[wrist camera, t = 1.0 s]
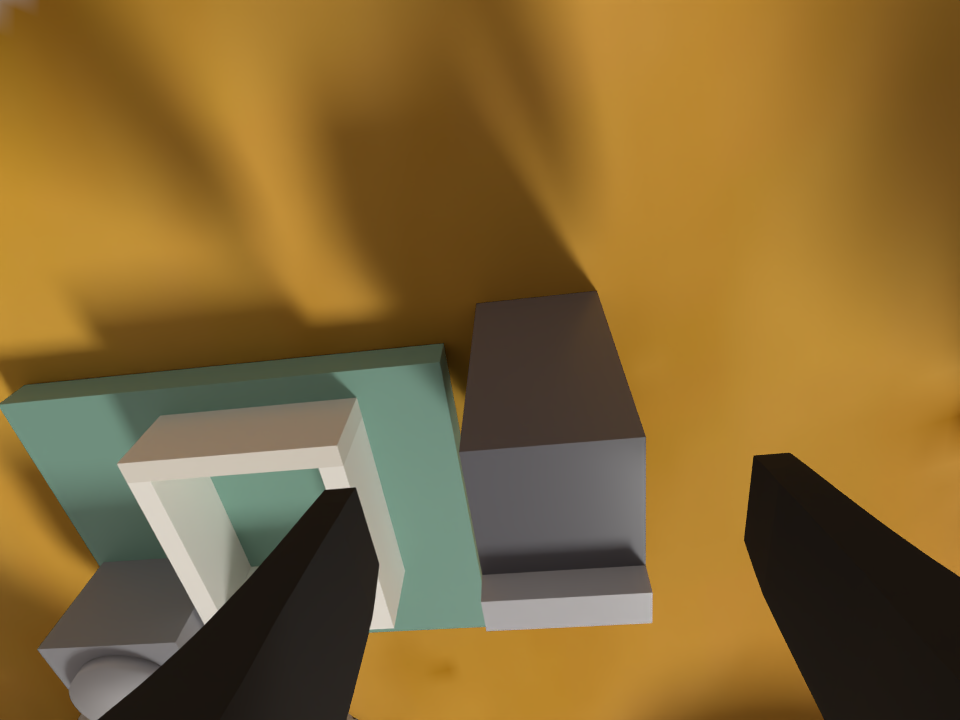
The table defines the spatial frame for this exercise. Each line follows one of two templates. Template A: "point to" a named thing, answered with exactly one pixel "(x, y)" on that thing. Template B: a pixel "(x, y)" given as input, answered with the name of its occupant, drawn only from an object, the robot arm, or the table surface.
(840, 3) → the table surface
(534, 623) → the plug
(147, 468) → the board
